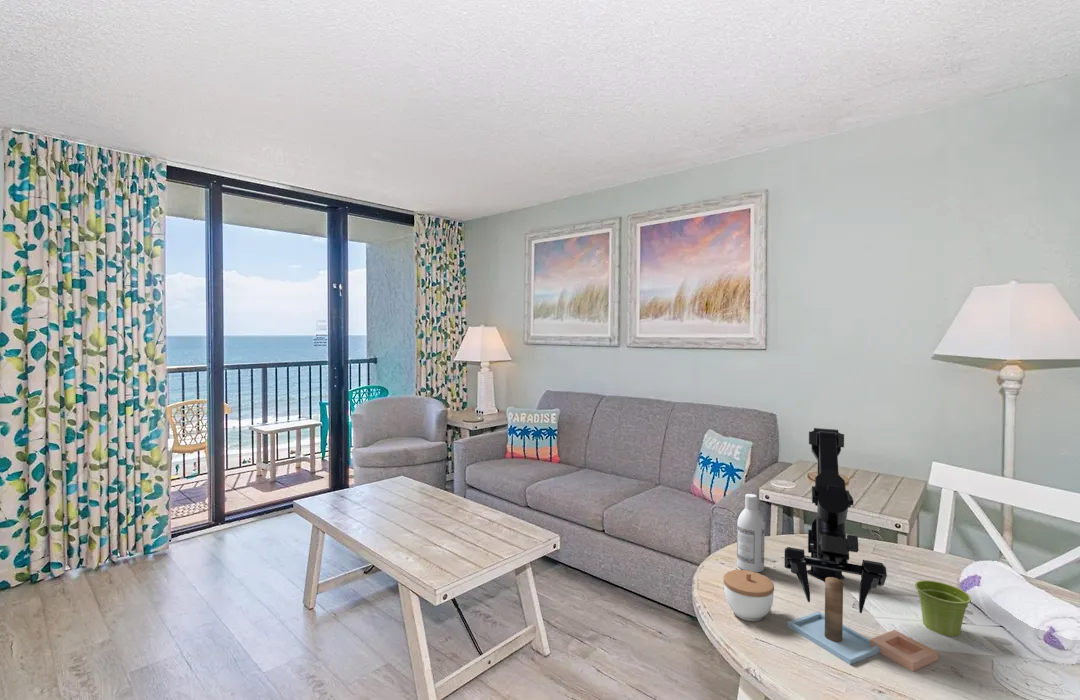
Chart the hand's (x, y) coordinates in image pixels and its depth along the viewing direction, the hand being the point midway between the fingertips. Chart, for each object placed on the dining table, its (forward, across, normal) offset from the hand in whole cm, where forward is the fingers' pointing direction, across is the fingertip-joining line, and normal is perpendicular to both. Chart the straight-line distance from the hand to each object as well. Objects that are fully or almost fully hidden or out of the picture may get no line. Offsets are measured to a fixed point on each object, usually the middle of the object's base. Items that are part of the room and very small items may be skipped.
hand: (834, 606), depth 103 cm
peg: (+4, 0, +6) cm, 7 cm away
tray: (+5, 0, +7) cm, 8 cm away
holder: (+4, +12, +7) cm, 15 cm away
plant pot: (-6, +21, +17) cm, 28 cm away
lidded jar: (+2, -17, +9) cm, 19 cm away
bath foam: (-15, -18, +27) cm, 36 cm away
